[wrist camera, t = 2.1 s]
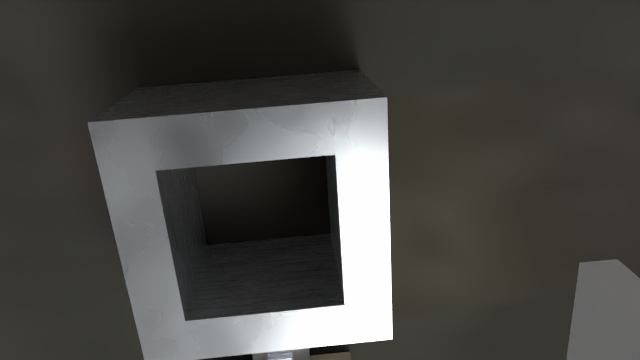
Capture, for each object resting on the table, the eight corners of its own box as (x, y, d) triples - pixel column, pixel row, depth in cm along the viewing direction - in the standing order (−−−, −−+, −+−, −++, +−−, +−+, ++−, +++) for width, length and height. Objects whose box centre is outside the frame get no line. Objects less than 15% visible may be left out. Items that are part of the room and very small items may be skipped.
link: (176, 280, 21) (145, 364, 16) (137, 87, 18) (87, 122, 13) (368, 262, 21) (392, 339, 17) (360, 69, 18) (387, 97, 14)
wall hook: (258, 377, 23) (256, 407, 21) (248, 304, 22) (245, 331, 20) (311, 371, 23) (313, 401, 21) (304, 299, 22) (306, 325, 20)
